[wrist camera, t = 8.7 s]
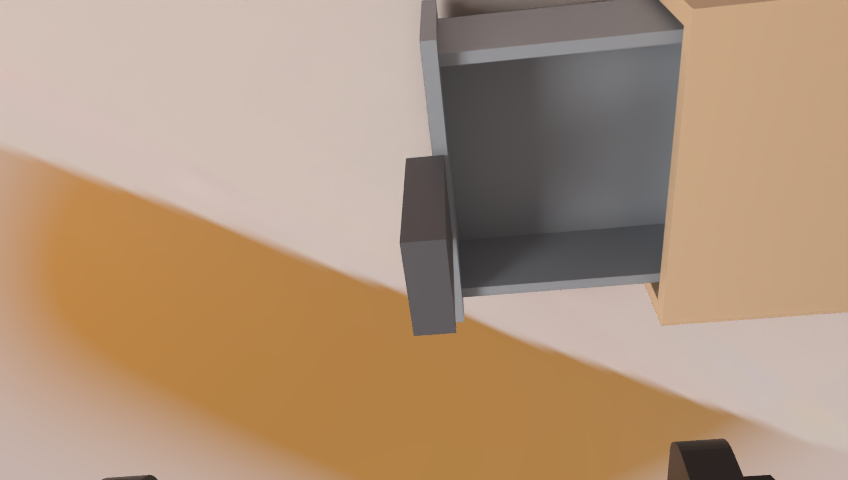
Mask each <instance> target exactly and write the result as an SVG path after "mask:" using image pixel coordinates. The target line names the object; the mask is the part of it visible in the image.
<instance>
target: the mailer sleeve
mask: <svg viewBox="0 0 848 480" xmlns="http://www.w3.org/2000/svg"><path fill="white" fill-rule="evenodd" d="M659 1H660V2H661V3H662V4H663V5H664V6H665V7H666V8H667V9H668V10H669V11H670V12H671V13H672V14H673V15H674V16H675V17H676V18H677V19H678V20H679V21H680V22H681V23H682V24H683V25H684V30H683V41H682V51H681V62H680V72H679V83H678V93H677V104H676V114H675V125H674V135H673V146H672V156H671V167H670V177H669V188H668V198H667V209H666V219H665V230H664V240H663V251H662V261H661V272H660V282H654V283H644V285H645V287H646V290H647V292H648V294H649V297H650V299H651V302H652V304H653V307H654V309H655V312H656V314H657V317H658V319H659V321H660V324H661V326H662V325H676V324H689V323H703V322H717V321H731V320H744V319H758V318H772V317H786V316H799V315H813V314H827V313H841V312H848V0H659Z"/></svg>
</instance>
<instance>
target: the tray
mask: <svg viewBox="0 0 848 480" xmlns="http://www.w3.org/2000/svg"><path fill="white" fill-rule="evenodd" d="M683 30H684V25H683V24H682V23H681V22H680V21H679V20H678V19H677V18H676V17H675V16H674V15H673V14H672V13H671V12H670V11H669V10H668V9H667V8H666V7H665V6H664V5H663V4H662V3H661V2H660V1H659V0H612V1H602V2H593V3H583V4H574V5H564V6H555V7H545V8H536V9H526V10H517V11H507V12H498V13H488V14H479V15H469V16H460V17H450V18H441V19H438V15H437V4H436V0H423V1H422V7H421V24H420V50H421V59H422V68H423V77H424V86H425V94H426V103H427V112H428V121H429V130H430V139H431V147H432V156H428V157H417V158H406V166H405V180H404V193H403V207H402V220H401V234H400V248H401V254H402V261H403V267H404V274H405V280H406V287H407V293H408V300H409V306H410V313H411V319H412V326H413V332H414V336H419V335H432V334H446V333H456V322H464V306H463V297H472V296H485V295H498V294H511V293H524V292H537V291H550V290H563V289H576V288H589V287H602V286H615V285H628V284H641V283H654V282H660V272H661V261H662V251H663V240H664V230H665V219H666V209H667V198H668V188H669V177H670V167H671V156H672V146H673V135H674V125H675V114H676V104H677V93H678V83H679V72H680V62H681V51H682V41H683Z"/></svg>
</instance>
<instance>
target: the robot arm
mask: <svg viewBox="0 0 848 480" xmlns="http://www.w3.org/2000/svg"><path fill="white" fill-rule="evenodd" d="M669 457H670V458H669V468H668V480H775V479H774V478H773V477H772V476H771V475H762V476H746V477H743V475H742V472H741V470H740V467H739V465H738V463H737V460H736V458H735V455H734V453H733V451H732V449H731V447H730V445H729V443H728V442H727V441H726V440H725V439H711V440H696V441H683V442H682V441H681V442H672V444H671V447H670V456H669ZM103 480H157V479H156V478H155V477H154V476H152V475H145V476H144V475H143V476H129V477H113V478H105V479H103Z"/></svg>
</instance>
